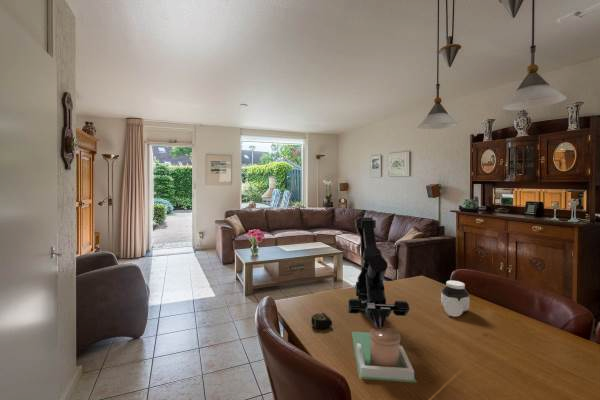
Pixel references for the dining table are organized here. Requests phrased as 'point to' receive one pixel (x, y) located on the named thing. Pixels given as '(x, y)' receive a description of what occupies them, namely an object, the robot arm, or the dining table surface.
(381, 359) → the terracotta pot
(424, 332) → the dining table surface
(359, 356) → the white rail holder
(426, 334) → the dining table surface
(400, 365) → the green mat
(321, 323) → the tape measure
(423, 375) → the dining table surface
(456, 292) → the spread jar
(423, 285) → the dining table surface
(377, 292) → the robot arm
